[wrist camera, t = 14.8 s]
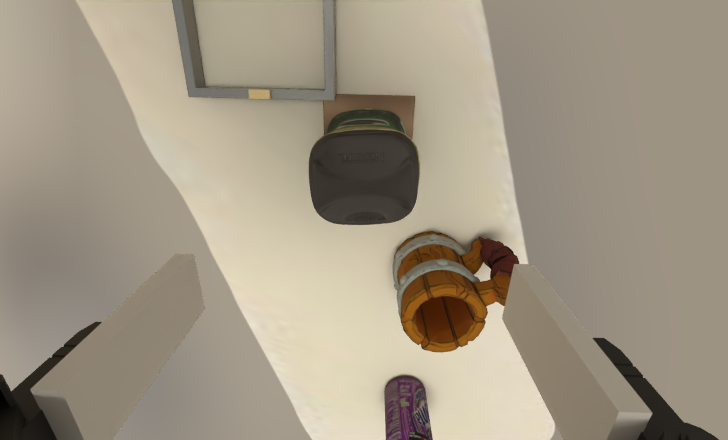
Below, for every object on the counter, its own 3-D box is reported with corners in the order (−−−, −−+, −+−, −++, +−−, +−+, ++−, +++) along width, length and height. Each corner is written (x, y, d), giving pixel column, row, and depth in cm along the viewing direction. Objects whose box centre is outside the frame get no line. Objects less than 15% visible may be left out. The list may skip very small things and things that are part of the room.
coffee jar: (331, 173, 46) (305, 236, 28) (325, 110, 42) (293, 138, 25) (405, 170, 45) (424, 232, 28) (405, 106, 42) (426, 133, 25)
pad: (324, 94, 42) (322, 94, 42) (414, 96, 42) (415, 96, 41) (326, 180, 47) (325, 182, 46) (408, 183, 47) (408, 185, 46)
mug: (376, 251, 51) (377, 318, 37) (483, 200, 47) (527, 254, 34) (409, 304, 55) (421, 383, 41) (510, 261, 51) (561, 332, 37)
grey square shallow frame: (170, -79, 36) (153, -91, 33) (334, -76, 36) (330, -89, 33) (198, 95, 43) (186, 97, 40) (336, 98, 43) (333, 100, 40)
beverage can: (427, 400, 63) (438, 470, 52) (388, 405, 64) (391, 475, 53) (421, 371, 60) (431, 439, 49) (380, 376, 61) (382, 444, 50)
